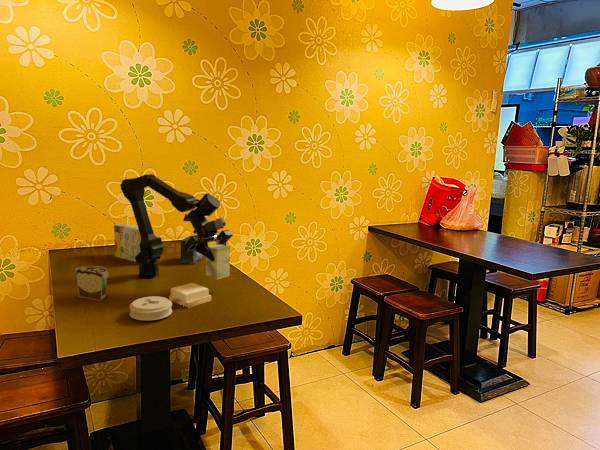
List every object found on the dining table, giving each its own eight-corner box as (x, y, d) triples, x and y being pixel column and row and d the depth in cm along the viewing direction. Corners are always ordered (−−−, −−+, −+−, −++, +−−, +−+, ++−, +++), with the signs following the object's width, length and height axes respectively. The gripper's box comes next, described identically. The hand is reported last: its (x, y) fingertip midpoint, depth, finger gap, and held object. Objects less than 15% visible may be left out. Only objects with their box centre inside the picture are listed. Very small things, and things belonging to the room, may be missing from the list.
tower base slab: (169, 302, 155) (169, 295, 155) (192, 295, 163) (192, 288, 162) (187, 310, 149) (187, 302, 149) (211, 302, 157) (211, 295, 156)
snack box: (155, 262, 200) (154, 229, 197) (144, 265, 195) (144, 230, 193) (124, 254, 211) (123, 222, 208) (113, 256, 207) (112, 224, 204)
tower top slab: (171, 295, 155) (170, 288, 155) (193, 289, 162) (193, 282, 161) (186, 302, 149) (186, 294, 149) (208, 295, 156) (208, 288, 155)
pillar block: (205, 275, 164) (205, 246, 162) (218, 272, 169) (218, 243, 167) (217, 279, 161) (217, 249, 159) (229, 276, 165) (230, 246, 163)
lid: (177, 318, 140) (177, 303, 140) (135, 326, 134) (134, 310, 133) (165, 305, 151) (165, 291, 150) (125, 312, 144) (125, 297, 143)
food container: (117, 296, 157) (116, 268, 155) (104, 301, 151) (103, 272, 149) (89, 291, 161) (88, 263, 159) (75, 296, 155) (74, 268, 153)
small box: (193, 264, 199) (193, 241, 197) (179, 263, 201) (179, 240, 199) (203, 258, 210) (203, 236, 208) (190, 257, 211) (190, 235, 209)
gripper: (190, 213, 156) (211, 250, 151) (230, 208, 170) (250, 242, 166) (175, 232, 162) (195, 268, 157) (215, 226, 176) (235, 259, 172)
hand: (220, 258), depth 163 cm, fingers closed on pillar block, 6 cm apart
